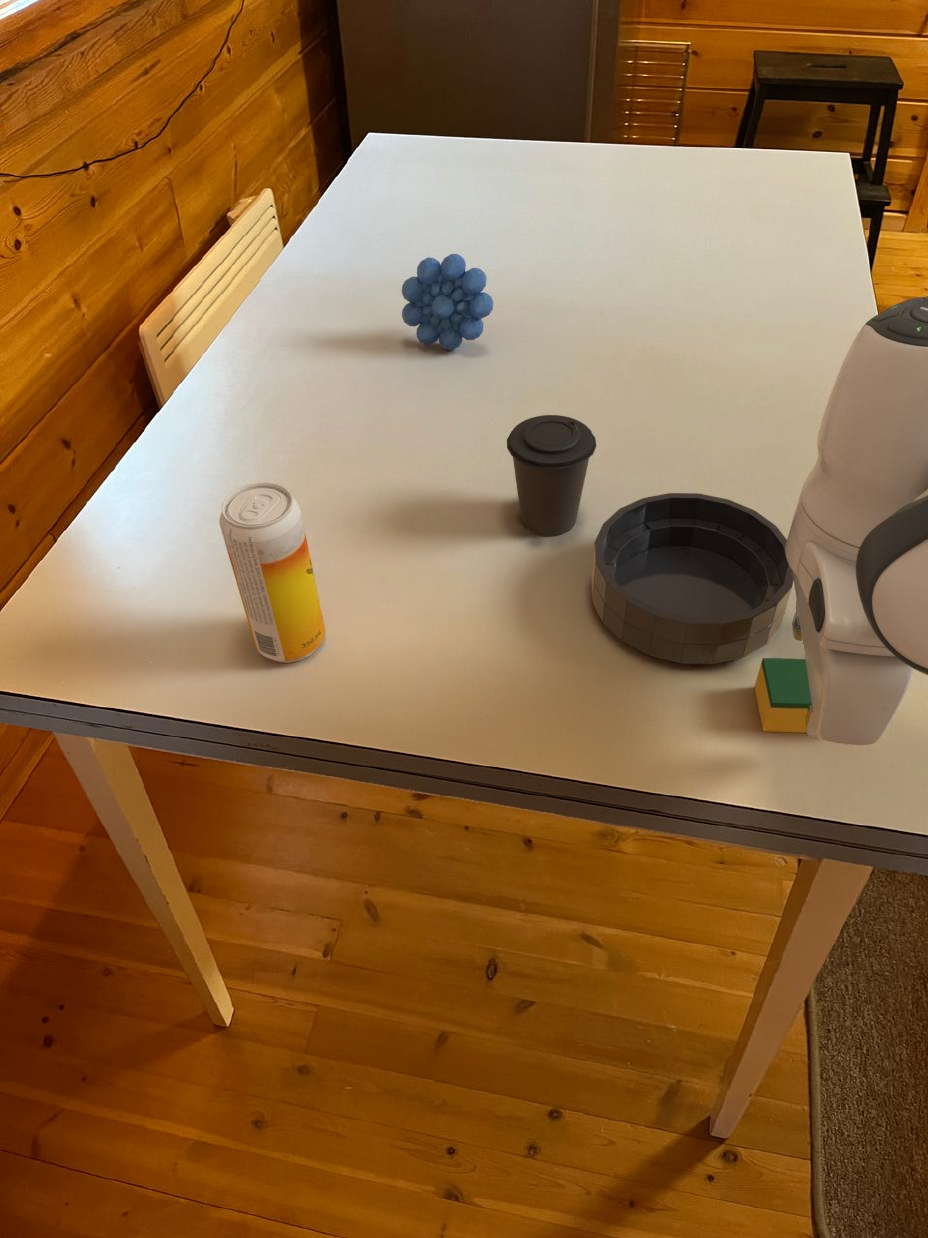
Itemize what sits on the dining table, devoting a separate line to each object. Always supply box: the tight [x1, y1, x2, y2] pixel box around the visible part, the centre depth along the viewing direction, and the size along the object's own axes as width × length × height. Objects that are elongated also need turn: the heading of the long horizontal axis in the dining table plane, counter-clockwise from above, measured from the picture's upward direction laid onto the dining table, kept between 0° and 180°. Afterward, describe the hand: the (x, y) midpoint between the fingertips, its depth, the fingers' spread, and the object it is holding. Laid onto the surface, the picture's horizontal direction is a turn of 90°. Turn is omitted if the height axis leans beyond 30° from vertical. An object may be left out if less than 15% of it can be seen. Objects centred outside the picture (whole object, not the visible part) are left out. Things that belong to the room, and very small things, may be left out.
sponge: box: [753, 657, 812, 734], centre depth 71 cm, size 7×4×4 cm, turn 86°
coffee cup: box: [506, 414, 597, 537], centre depth 86 cm, size 8×8×10 cm
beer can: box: [218, 481, 326, 664], centre depth 74 cm, size 6×6×15 cm
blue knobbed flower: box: [401, 253, 494, 351], centre depth 110 cm, size 12×7×12 cm, turn 70°
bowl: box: [591, 492, 794, 665], centre depth 79 cm, size 16×16×6 cm
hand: (810, 679), depth 70 cm, fingers open, 8 cm apart
